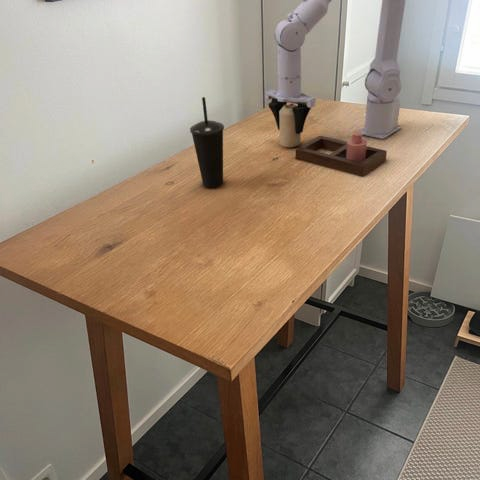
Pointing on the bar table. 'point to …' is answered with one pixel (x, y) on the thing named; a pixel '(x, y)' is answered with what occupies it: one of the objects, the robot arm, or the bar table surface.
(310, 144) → the holder
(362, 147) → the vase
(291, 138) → the candle
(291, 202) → the bar table surface
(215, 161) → the drinking cup
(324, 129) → the bar table surface
